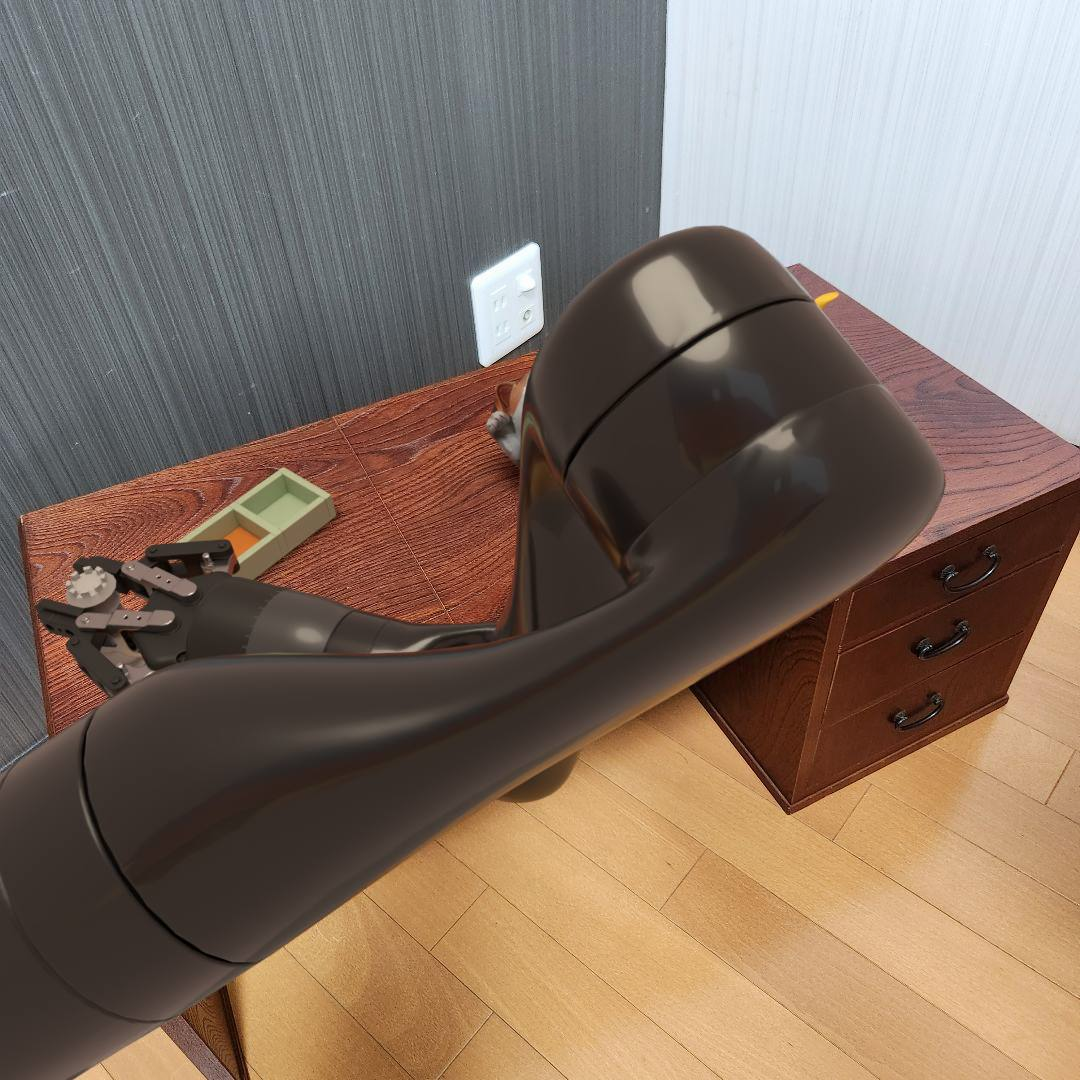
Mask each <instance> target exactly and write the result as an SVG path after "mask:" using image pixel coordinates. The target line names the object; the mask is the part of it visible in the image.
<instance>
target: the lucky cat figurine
mask: <svg viewBox="0 0 1080 1080" xmlns="http://www.w3.org/2000/svg"><path fill="white" fill-rule="evenodd" d="M530 371H531V369H530V370H529V371H528V372H526V373H525V374H524V376H523V377H522V378H521V379H520V381H519V382H518V383H517V381H515V380H514V381H507V380H502V381H499V382H498V383H496V384H495V386H494V388H493V390H494V393H495V395H494V398H493V408H492V411H491V413H490V416H489V417H488V420H487V421H486V424H485V427H486V430H487V432H488V434H489V436H490V437H491V438H492V439H493V440H494V441H495V442H496V444H497V446H498V447H499V449H500V450H501V451H502V452H503V453H504V454H506V455H507V457H508V458H509V459H510V461H511V462H512V463H513V464H514V465H515V466H516V467H517V469H518V470H520V444H521V418H522V408H523V401H524V396H525V390H526V385H527V381H528V377H529V374H530Z"/></svg>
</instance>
